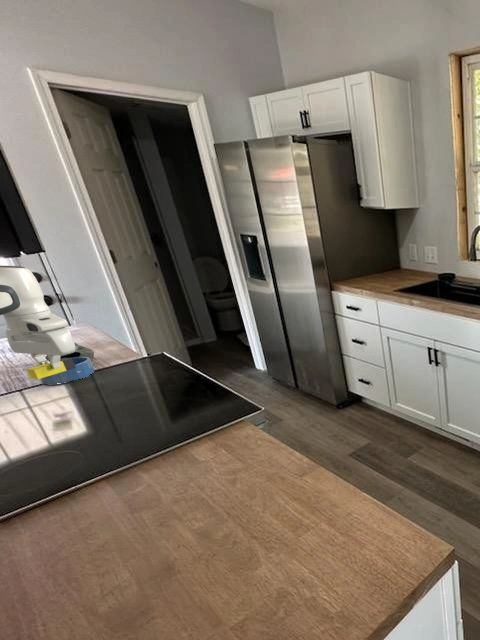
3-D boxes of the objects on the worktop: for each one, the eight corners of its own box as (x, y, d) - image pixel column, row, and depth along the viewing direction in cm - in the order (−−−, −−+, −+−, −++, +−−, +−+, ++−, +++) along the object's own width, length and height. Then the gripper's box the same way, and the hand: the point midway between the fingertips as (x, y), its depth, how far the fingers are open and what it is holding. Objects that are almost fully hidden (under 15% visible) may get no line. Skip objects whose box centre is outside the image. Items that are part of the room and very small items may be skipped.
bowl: (60, 387, 126) (53, 372, 124) (31, 384, 128) (24, 370, 127) (105, 371, 137) (99, 357, 135) (77, 369, 140) (71, 355, 138)
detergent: (99, 364, 142) (95, 348, 159) (89, 346, 139) (85, 331, 156) (46, 380, 134) (47, 360, 150) (34, 360, 131) (36, 342, 147)
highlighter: (38, 379, 118) (33, 369, 116) (30, 378, 118) (25, 368, 117) (76, 367, 126) (72, 358, 125) (68, 367, 127) (64, 357, 126)
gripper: (-10, 324, 116) (12, 369, 121) (43, 326, 112) (63, 373, 116) (20, 318, 122) (39, 361, 126) (71, 320, 117) (89, 365, 122)
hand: (51, 367), depth 121 cm, fingers closed on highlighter, 3 cm apart
